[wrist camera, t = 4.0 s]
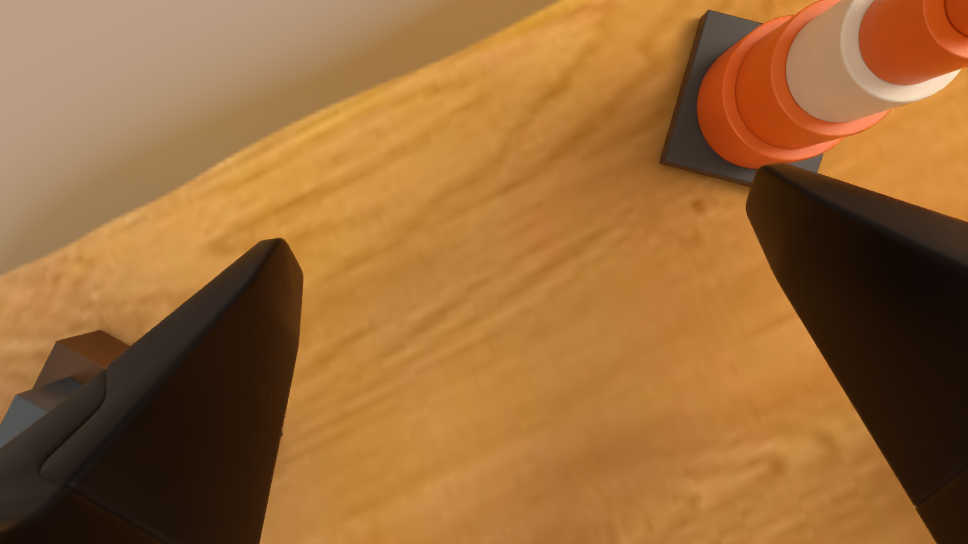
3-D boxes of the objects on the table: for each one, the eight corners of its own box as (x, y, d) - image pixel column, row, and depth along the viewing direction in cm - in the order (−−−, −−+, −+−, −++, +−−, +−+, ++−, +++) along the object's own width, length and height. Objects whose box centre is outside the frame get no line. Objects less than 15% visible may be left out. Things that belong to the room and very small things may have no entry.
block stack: (283, 433, 25) (231, 483, 20) (189, 598, 26) (117, 686, 21) (100, 329, 25) (0, 354, 20) (12, 501, 26) (-104, 566, 21)
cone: (799, 199, 23) (1146, 163, 11) (658, 163, 23) (847, 86, 11) (844, 53, 23) (1267, -160, 10) (700, 16, 23) (951, -242, 10)
